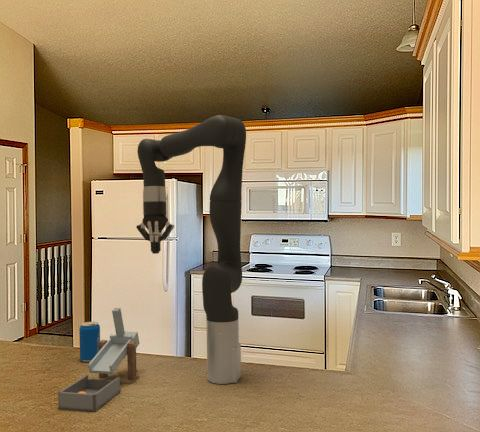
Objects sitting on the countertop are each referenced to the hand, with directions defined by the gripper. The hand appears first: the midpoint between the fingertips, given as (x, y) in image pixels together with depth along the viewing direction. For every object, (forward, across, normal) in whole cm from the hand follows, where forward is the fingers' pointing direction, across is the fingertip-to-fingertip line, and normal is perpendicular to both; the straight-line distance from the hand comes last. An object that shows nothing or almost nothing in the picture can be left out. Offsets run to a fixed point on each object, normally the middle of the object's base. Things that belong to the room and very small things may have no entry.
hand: (155, 253), depth 156 cm
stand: (+35, -4, -20) cm, 40 cm away
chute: (+29, -4, -20) cm, 36 cm away
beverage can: (+35, -22, -4) cm, 42 cm away
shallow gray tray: (+35, -4, -35) cm, 50 cm away
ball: (+33, -4, -40) cm, 51 cm away
